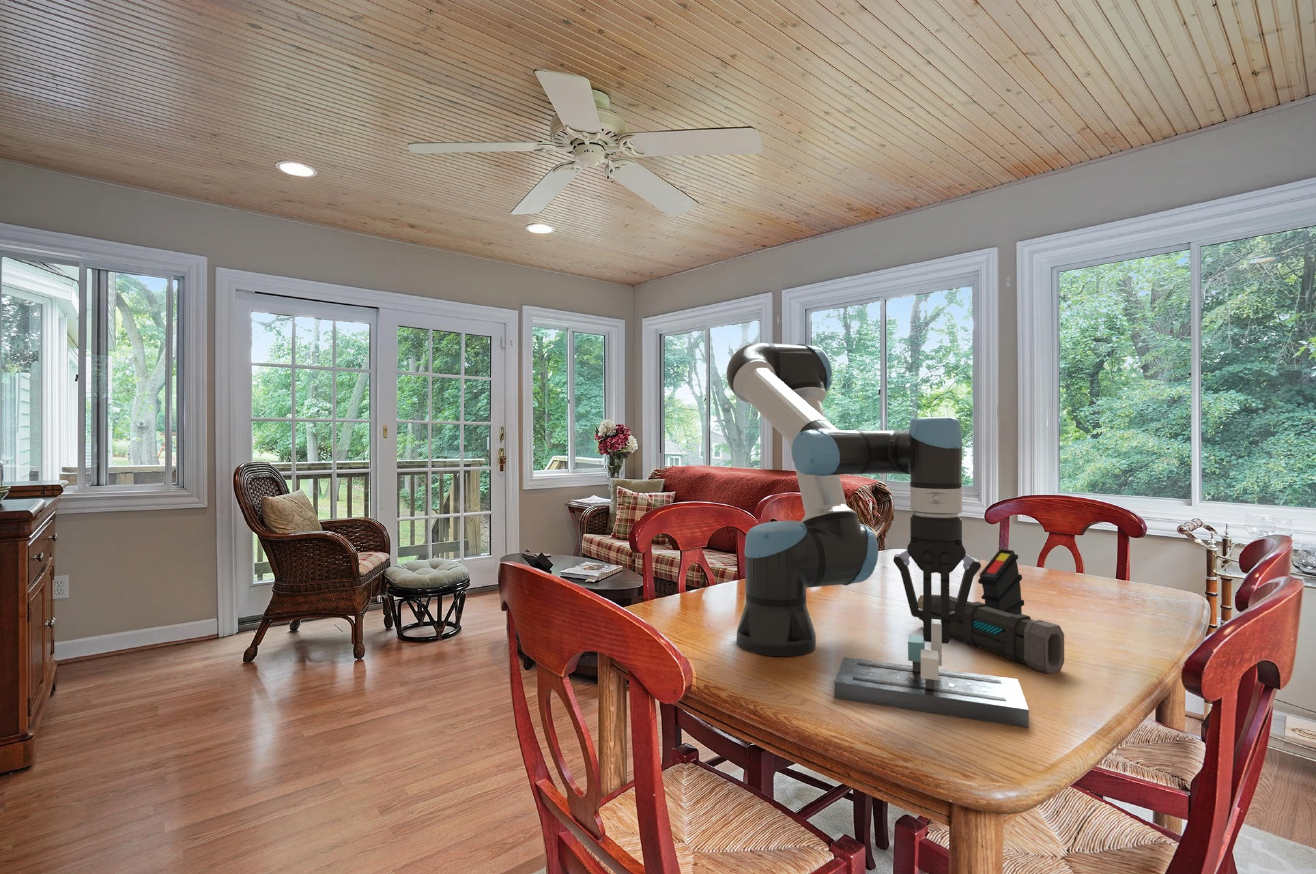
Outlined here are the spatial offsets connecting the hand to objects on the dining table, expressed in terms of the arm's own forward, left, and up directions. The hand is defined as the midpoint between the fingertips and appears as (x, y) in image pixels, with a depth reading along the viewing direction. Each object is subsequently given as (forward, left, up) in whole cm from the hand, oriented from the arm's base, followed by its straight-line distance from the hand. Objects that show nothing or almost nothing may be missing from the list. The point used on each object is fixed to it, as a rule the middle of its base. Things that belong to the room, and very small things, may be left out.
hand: (936, 662), depth 100 cm
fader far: (-3, 0, -2) cm, 3 cm away
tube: (+8, +26, -5) cm, 27 cm away
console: (-1, -4, -4) cm, 6 cm away
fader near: (-1, -7, -2) cm, 7 cm away
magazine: (+14, +47, -5) cm, 49 cm away
